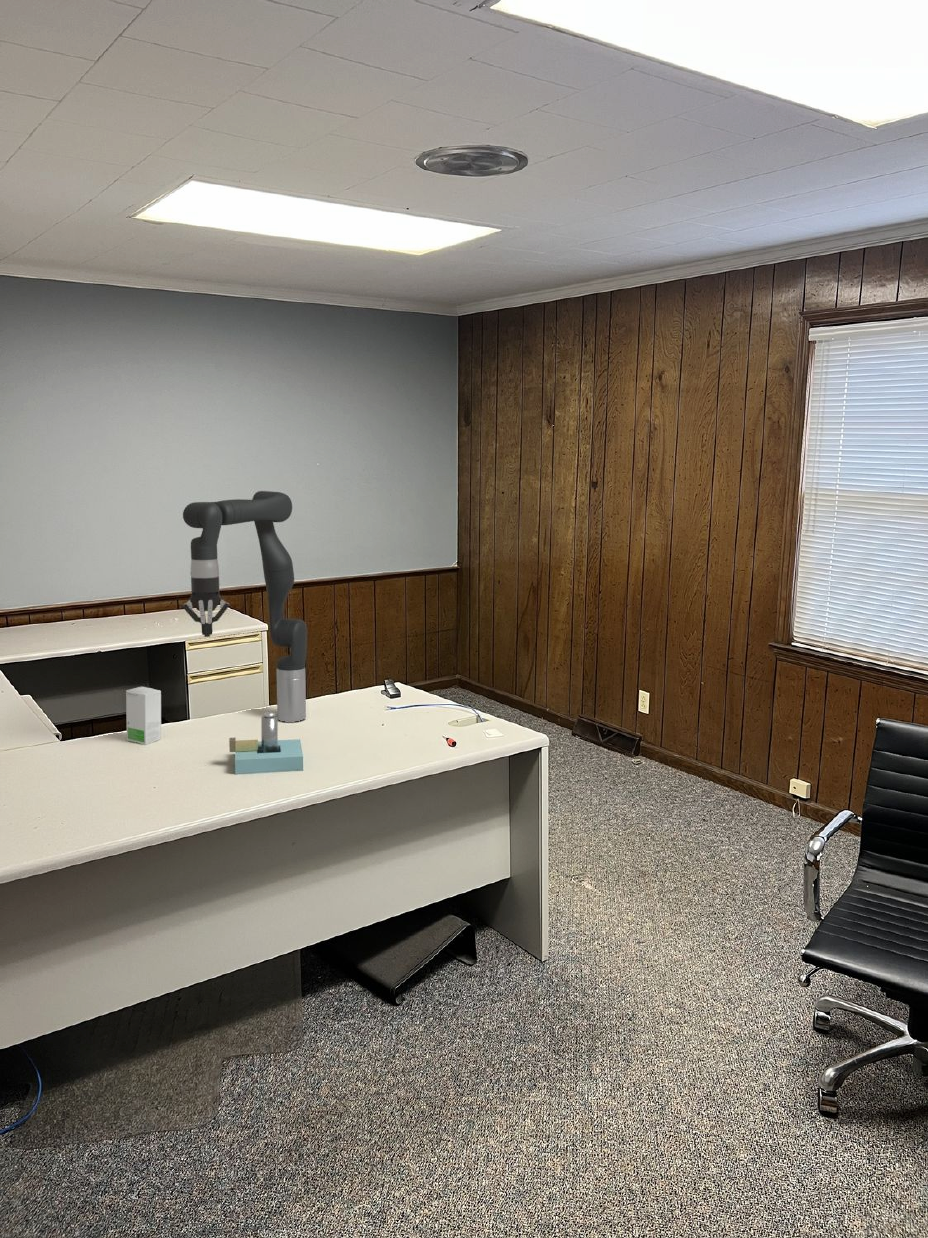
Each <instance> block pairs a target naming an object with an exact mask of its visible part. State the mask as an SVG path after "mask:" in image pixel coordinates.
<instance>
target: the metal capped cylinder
mask: <svg viewBox="0 0 928 1238" xmlns="http://www.w3.org/2000/svg"><path fill="white" fill-rule="evenodd" d="M260 719H261V722H260V723H261V724H260V725H261V728H260V729H261V731H260V732H261V740H260V741H261V753H275V752H278V740H279V739H278V734H279V732H278V730H279V728H278V727H279V726H278V723H279V720H278V717H277V715H276V712H275V711H265V712H263V716H261V718H260Z"/></svg>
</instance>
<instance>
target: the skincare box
mask: <svg viewBox="0 0 928 1238" xmlns="http://www.w3.org/2000/svg"><path fill="white" fill-rule="evenodd" d="M125 699H126V701H125V705H126V706H125V708H126V709H125V711H126V741H128V742H132V743H136V742H138V743H137V744H139V745H144V746H146V745H149V743H150V744H152V743H151V742H153V743H156V742H158V741H157V740H159V741H161V740H162V691H161V690H159V689H154V688H153V687H152V688H151V687H146V686H137V687H135V688H130V689H127V690H125ZM160 739H161V740H160ZM155 741H156V742H155Z"/></svg>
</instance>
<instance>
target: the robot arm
mask: <svg viewBox="0 0 928 1238" xmlns="http://www.w3.org/2000/svg"><path fill="white" fill-rule="evenodd" d="M292 513H293V502H292V499H291V498H290V496H288V495H287V494H286V493H283V492H279V491H270V490H269V491H267V490H260V491H259V490H258V491H257V492H255V493H254V495H253V496H252V499H238V498H237V499H235V498H234V499H225V500H220V501H197V502H195V501H194V502H191V503H189V504H187V505H186V506H185V508H184V509H183V511H182V518H183V521H184V523H185V524H186V525H187V526H188V527H190V528H194V529H202V531H201V534H200V536H197V537H194V538H192V539H191V541H190V558H191V559H190V571H189V572H190V583H191V584H190V586H191V588H190V589H191V594H190V597H189V600H188V601H187V602H186V603H183V605H182V608H183V610H184V611H186V613H187V614H188V616H190V617H191V619H192V620H193V621H194V622H195V623H200V625H201V635H202V636H204V638H210V637H211V635H213V623H215V622H218V621H219V620H220V619H221V617H222V616H223V615H224V614H225V612H226V611H227V609H228V608H229V607H230V603H229V602H227V601H225V600H224V599H222V596H221V594H220V568H219V562H218V561H219V559H218V540H219V538H220V533H221V529H222V526H229V525H236V524H244V523H249V522H251V523H252V522H254V527H255V529H256V533H257V538H258V542H259V543H258V544H259V548H260V555H261V562H262V571H263V578H264V582H265V587H266V589H265V590H266V594H267V595H266V596H267V604H268V605H267V606H268V619H269V621H268V623H269V633H270V638H271V642H272V643H273V645H275V646H276V647H283V648H290V653H289V654H287V655H285V656H282V657H279V658H277V659H276V663H275V664H276V665H275V666H276V667H275V668H276V707H277V710H276V713H277V715H276V716H277V717H278V721H279V720H281V721H280V722H282V721H285V722H284V723H296V722H295V721H299V722H301V721H300V720H303V719H305V718H306V719H307V706H306V705H307V696H306V694H307V693H306V683H307V682H306V662H307V661H306V660H307V649H308V648H307V647H308V644H307V643H308V627H307V623H306V622H305V621H304V620H302V619H297V618H286V617H285V612H284V610H285V608H284V607H285V602H286V600H287V597H288V596H289V594H290V592H291V590H292V589H293V586H294V583H295V572H294V571H295V570H294V563H293V560H292V557H291V555H290V554H289V552H288V550H287V549H286V547H285V546H284V544H283V543H282V541H281V540H280V539H279V536H278V535H277V532H276V530H275V524H274V523H283V522H285V521H287V520H288V519H289V518H290V517H291V516H292ZM219 604H220V605H219ZM193 606H194V608H195V609H196V610H197V611H198V612H199V616H198V614H197V613H196V612H195V611H194V609H193ZM218 606H219V608H220V609H219V610H218V611H217V612H216V614H215V616H213V613H214V612H213V611H215V610H216V608H218ZM206 612H207V618H206ZM306 719H305V720H306ZM303 721H304V720H303Z"/></svg>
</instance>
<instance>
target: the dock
mask: <svg viewBox="0 0 928 1238" xmlns="http://www.w3.org/2000/svg"><path fill="white" fill-rule="evenodd" d="M301 741H302V740H301V739H298V738H297V739H280V740H279V739H278V752H275V753H261V740H258V750H257V751H238V752H234V753H235V754H234V755H235V756H234V770H235V771H234V772H235V775H247V774H263V773H264V774H265V773H281V772H301V771H304V754H303V748H302V742H301Z"/></svg>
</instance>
